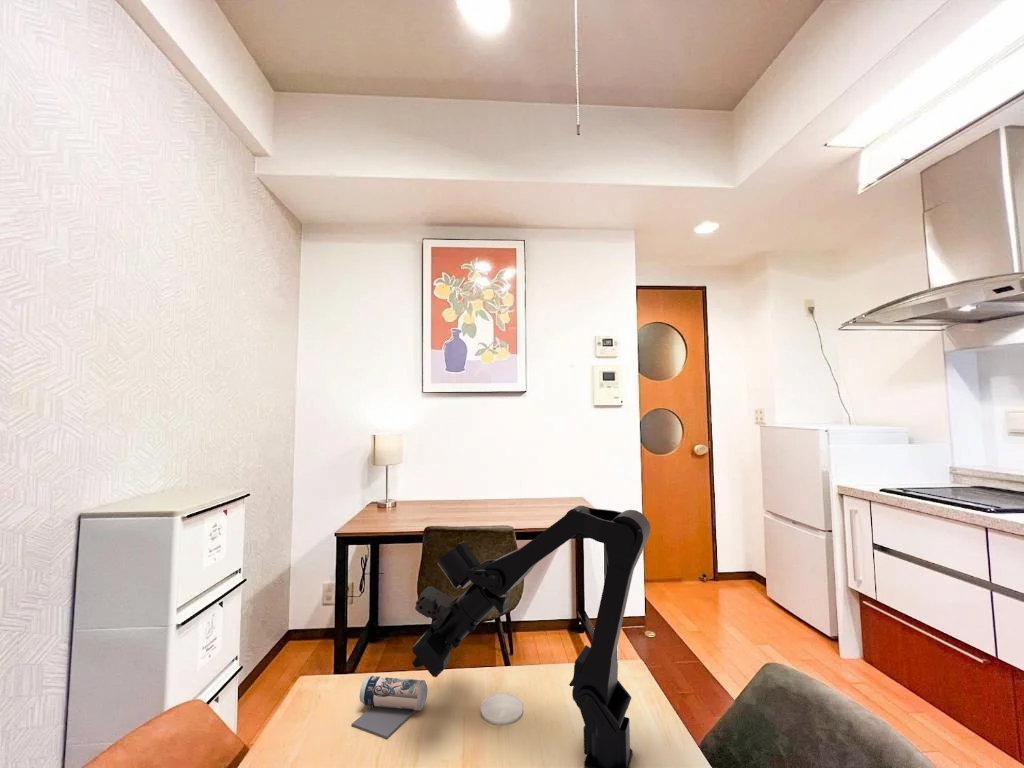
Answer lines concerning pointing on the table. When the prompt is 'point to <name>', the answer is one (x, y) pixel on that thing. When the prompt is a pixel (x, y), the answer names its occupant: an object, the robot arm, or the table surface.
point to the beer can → (394, 692)
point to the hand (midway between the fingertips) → (414, 664)
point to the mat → (383, 720)
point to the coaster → (501, 709)
